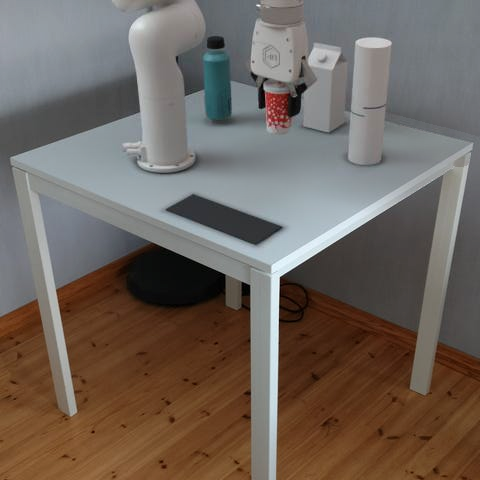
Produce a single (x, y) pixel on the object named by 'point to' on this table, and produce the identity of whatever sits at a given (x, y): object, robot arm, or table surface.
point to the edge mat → (224, 219)
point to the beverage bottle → (217, 80)
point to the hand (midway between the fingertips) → (279, 110)
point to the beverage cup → (277, 107)
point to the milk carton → (326, 89)
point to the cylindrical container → (369, 100)
